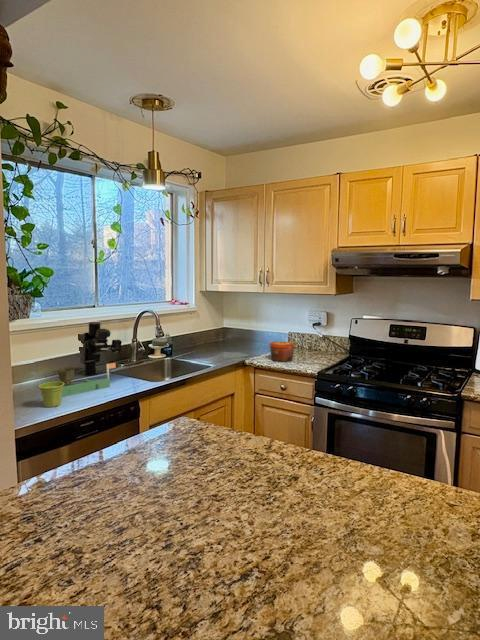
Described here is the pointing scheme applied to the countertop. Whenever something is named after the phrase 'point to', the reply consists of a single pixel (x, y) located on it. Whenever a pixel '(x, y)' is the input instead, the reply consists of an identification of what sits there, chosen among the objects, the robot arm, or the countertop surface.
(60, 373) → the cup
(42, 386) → the plant pot
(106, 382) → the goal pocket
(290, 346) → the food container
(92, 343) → the robot arm
